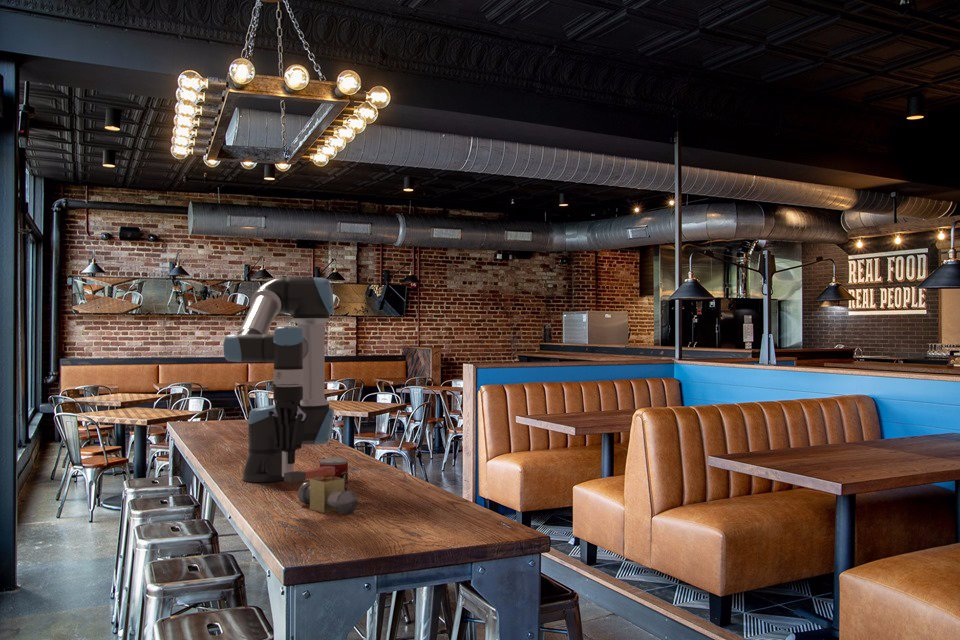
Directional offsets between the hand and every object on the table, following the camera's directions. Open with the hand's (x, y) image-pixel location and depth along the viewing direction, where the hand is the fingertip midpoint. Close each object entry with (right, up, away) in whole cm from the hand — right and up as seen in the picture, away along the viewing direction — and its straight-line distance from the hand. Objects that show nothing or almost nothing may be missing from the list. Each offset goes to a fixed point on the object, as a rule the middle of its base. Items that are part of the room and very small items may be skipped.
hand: (287, 475), depth 194 cm
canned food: (+9, -10, +14) cm, 20 cm away
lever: (+6, 0, -1) cm, 6 cm away
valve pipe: (+10, -9, +3) cm, 14 cm away
